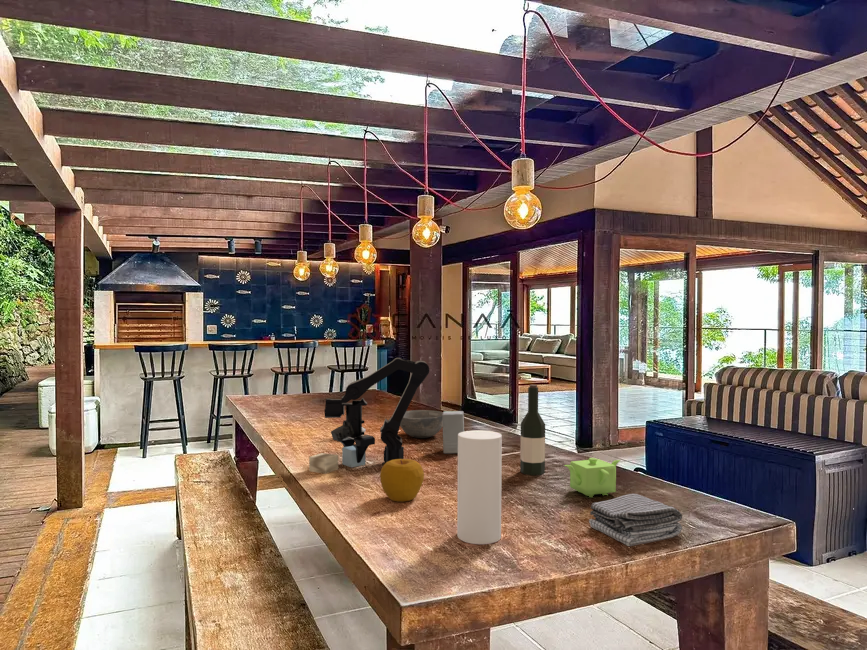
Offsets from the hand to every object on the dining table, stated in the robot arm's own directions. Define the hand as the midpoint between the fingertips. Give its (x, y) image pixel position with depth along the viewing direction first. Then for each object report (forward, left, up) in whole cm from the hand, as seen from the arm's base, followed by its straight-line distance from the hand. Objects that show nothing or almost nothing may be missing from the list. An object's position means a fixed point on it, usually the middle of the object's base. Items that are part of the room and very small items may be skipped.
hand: (353, 460), depth 213 cm
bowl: (+4, -54, -2) cm, 54 cm away
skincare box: (-22, -35, -2) cm, 41 cm away
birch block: (+4, +11, -1) cm, 12 cm away
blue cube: (0, 0, -1) cm, 1 cm away
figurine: (+28, -38, -1) cm, 47 cm away
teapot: (-83, -10, -2) cm, 84 cm away
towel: (-100, +16, -2) cm, 102 cm away
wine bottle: (-59, -23, -1) cm, 63 cm away
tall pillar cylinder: (-68, +39, -1) cm, 78 cm away
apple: (-36, +24, -2) cm, 43 cm away
